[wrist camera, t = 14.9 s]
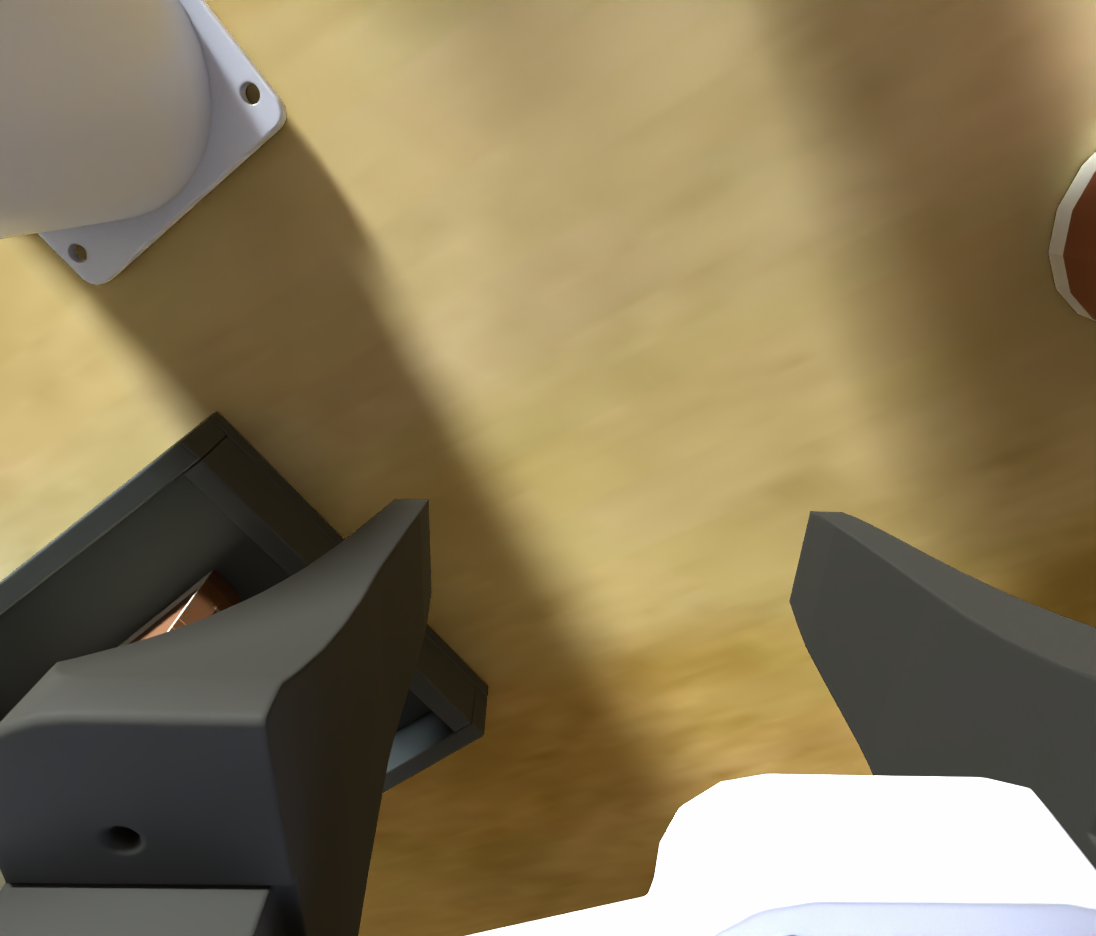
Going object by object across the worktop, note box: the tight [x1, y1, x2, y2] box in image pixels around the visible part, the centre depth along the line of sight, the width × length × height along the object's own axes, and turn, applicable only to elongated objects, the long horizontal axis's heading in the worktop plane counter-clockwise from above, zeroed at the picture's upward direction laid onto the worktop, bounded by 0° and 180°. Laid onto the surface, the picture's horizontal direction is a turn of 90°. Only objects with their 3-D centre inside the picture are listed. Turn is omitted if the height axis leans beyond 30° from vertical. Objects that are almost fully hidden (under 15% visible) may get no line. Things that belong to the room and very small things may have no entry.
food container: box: [0, 569, 243, 890], centre depth 22 cm, size 12×6×10 cm, turn 128°
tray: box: [0, 412, 488, 792], centre depth 26 cm, size 15×18×3 cm
